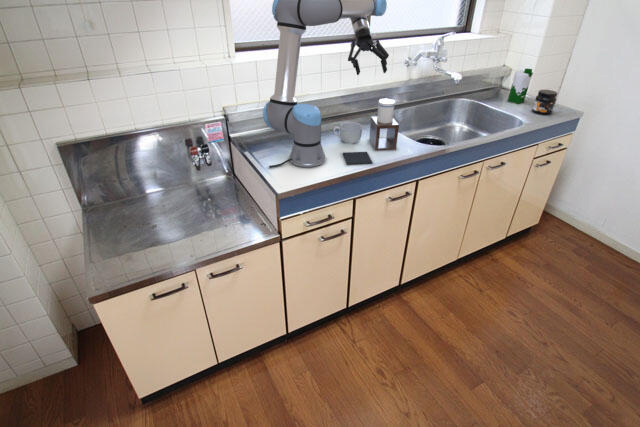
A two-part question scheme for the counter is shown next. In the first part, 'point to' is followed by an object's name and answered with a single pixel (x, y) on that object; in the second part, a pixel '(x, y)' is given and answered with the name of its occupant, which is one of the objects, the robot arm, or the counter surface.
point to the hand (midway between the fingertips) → (372, 72)
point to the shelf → (383, 143)
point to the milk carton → (520, 86)
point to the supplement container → (544, 102)
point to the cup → (385, 110)
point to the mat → (357, 158)
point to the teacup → (349, 132)
